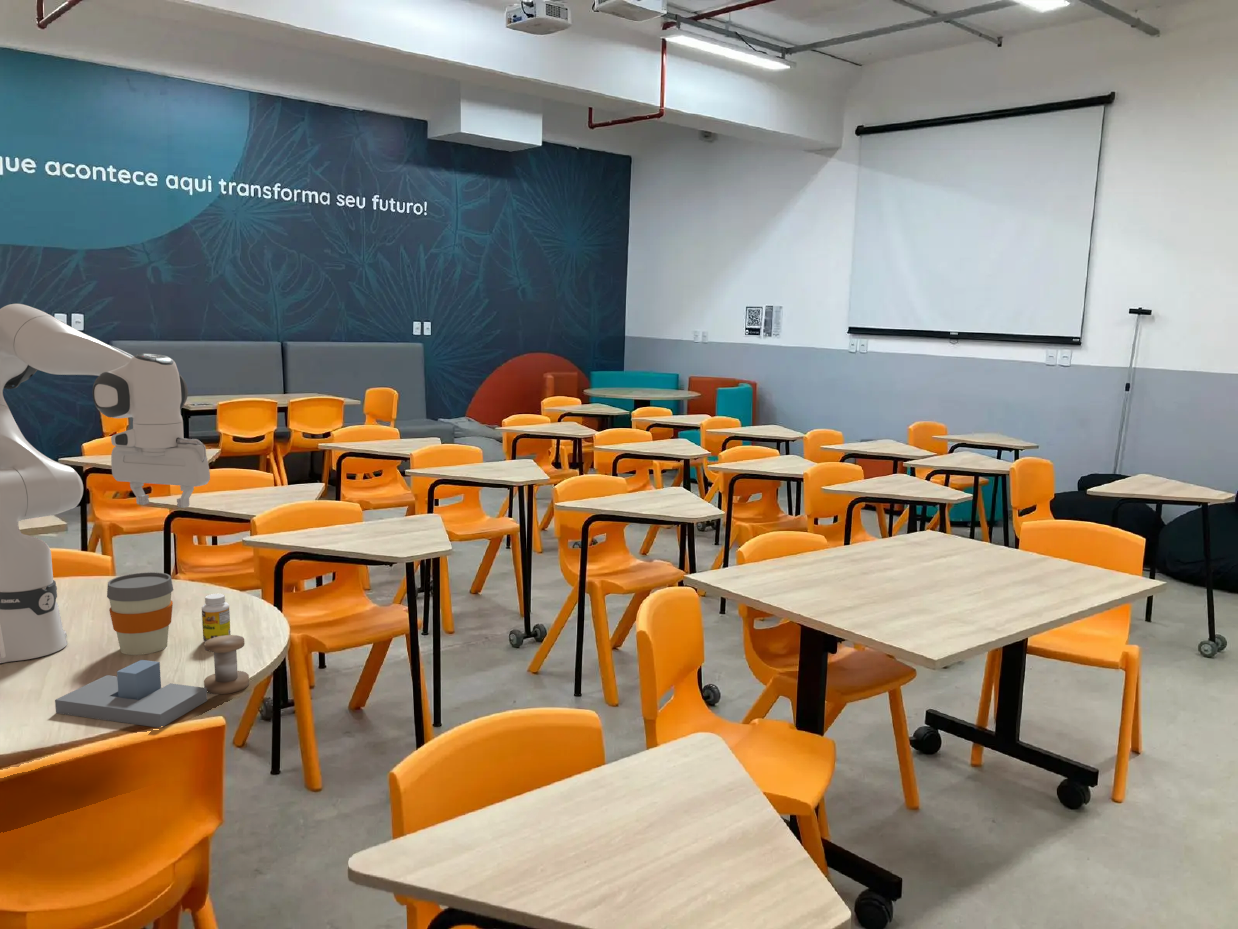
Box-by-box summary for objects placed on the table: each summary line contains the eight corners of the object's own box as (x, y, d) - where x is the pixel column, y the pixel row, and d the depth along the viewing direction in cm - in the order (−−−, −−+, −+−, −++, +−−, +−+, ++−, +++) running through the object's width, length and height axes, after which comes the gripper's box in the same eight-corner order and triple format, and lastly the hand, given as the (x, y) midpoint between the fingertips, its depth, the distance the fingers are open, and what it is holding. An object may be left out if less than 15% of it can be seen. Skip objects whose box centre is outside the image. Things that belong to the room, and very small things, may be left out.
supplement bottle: (197, 642, 201) (195, 597, 199) (219, 634, 206) (217, 590, 204) (214, 647, 198) (212, 601, 197) (236, 639, 203) (234, 594, 201)
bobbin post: (195, 691, 175) (192, 646, 173) (222, 676, 182) (220, 632, 181) (231, 696, 173) (229, 650, 171) (257, 680, 181) (255, 636, 179)
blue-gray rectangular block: (119, 708, 167) (116, 671, 166) (143, 695, 173) (141, 659, 172) (138, 710, 166) (135, 673, 165) (161, 697, 172) (159, 662, 171)
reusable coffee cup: (149, 660, 190) (144, 590, 187) (96, 655, 192) (91, 586, 190) (189, 640, 202) (185, 574, 199) (139, 635, 204) (134, 570, 202)
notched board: (56, 713, 164) (54, 699, 164) (107, 687, 176) (106, 675, 175) (161, 728, 159) (160, 714, 159) (207, 700, 171) (206, 688, 170)
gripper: (215, 437, 182) (218, 505, 184) (127, 432, 186) (132, 499, 189) (193, 441, 176) (197, 512, 178) (103, 436, 180) (108, 505, 183)
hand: (163, 505), depth 183 cm, fingers open, 8 cm apart
